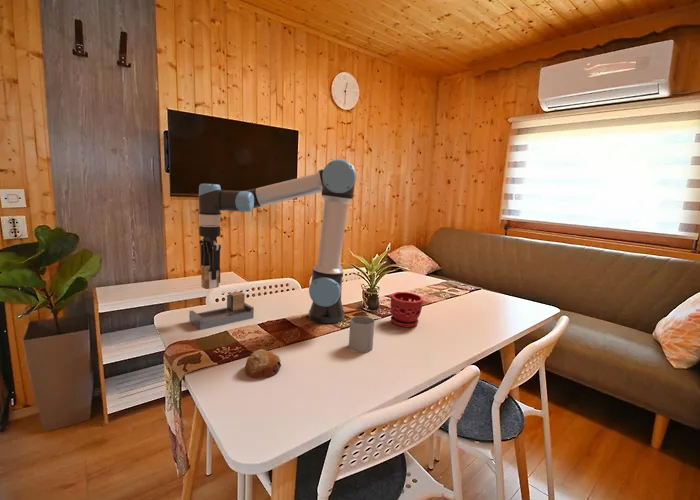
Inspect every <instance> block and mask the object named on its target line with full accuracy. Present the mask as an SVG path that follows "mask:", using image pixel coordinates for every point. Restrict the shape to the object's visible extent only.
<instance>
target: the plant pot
mask: <svg viewBox="0 0 700 500" xmlns="http://www.w3.org/2000/svg"><path fill="white" fill-rule="evenodd" d="M423 301H424V299H423V297H422V296H421V295H418V294H416V293H412V292H408V291H399V292H397V291H396V292H394V293H392V294H391V295H390V311H391V317H390V320H391V322H392V324H394V325H396V326H399V327H405V328H412V327H416V326H417V325H418V324H419V317H420V315H421V312H422V308H423Z"/></svg>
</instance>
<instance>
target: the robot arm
mask: <svg viewBox="0 0 700 500" xmlns="http://www.w3.org/2000/svg"><path fill="white" fill-rule="evenodd" d="M356 180H357V172H356V169H355V166H354V165H352V163H351V162H349V161H348V160H345V159H339V158H338V159H334V160H331V161H329V162H328V163H327V164H326V165H325V167H324V169H319V170H317V172H316V173H314V174H310V175H305V176H301V177H298V178H297V177H296V178H293V179H289V180H285V181H281V182H277V183H273V184H268V185H265V186H260V187H257V188H251V189H247V190H224V189H222V188H221V185H220V184H217V183H215V184H214V183H200V184H199V185H198V225H200V226H198V236H199V237H202V239H201V240H199V247H200V254H199V255H200V267H201V266H210V270H208V272H209V288H211V289H217V288H218V287H217V270H220V271H221V248H222V245H221V244H218V239H217V238H218V237H221V234H222V233H221V226H220V225H221V219H222V217H221V213H222V211H229V212H241V213H249V212H252V211H253V210H254V209H255V208H260V207H264V206H265V207H266V206H268V205H274V204H277V203H280V202H285V201H291V200H293V199H294V200H295V199H299V198H303V197H306V196H311V195H314V194H320V193H321V194H320V195H321V197H322V198H323V200H324V207H323V215H322V224H321V230H320V231H321V232H320V240H319V249H318V256H317V263H316V265H314V266H313V267H312V273H311V279H310V281H311V283H310V285H309V287H308V293H309V297H310V299H311V300H312V303H311V306H310V309H309V311H308V318H309V319H310V320H311V321H313V322H316V323H320V324H335V323H339V322H341V321H344V319H345V311H344V307H343V303H342V288H343V287H342V285H343V277H344V269H343V266H342V265H341V260H342V253H343V247H344V238H345V231H346V223H347V216H348V215H347V213H348V206H349V203H350V202H351V201H353V199H354V193H355V187H356V186H355V184H356V182H357V181H356ZM216 287H217V288H216Z"/></svg>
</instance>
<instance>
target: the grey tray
mask: <svg viewBox="0 0 700 500" xmlns="http://www.w3.org/2000/svg"><path fill="white" fill-rule="evenodd" d="M245 296H246V295H245V293H244V292H242V291H234V292H229V293H228V294H226V307H222V308H219V309H218V308H217V309H212V310H207V311H201V312H198V313H197V312H196V311H194V310H189V311H188V312H189V315H188V316H189V323H190V324H192V326H194V327H195V328H196V329H198V330H199V331H202V330H206V329H210V328H215V327H220V326H224V325H228V324H233V323H238V322H241V321H246V320H251V319H254V306H252V305H250V304H248V303H246V302H245V298H246V297H245Z"/></svg>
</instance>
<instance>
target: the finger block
mask: <svg viewBox="0 0 700 500" xmlns="http://www.w3.org/2000/svg"><path fill="white" fill-rule="evenodd" d="M208 270H210V266H201V265H200V273H201V288H203V289H205V290H210V289H212V288H209V272H208ZM220 284H221V269H220V270H217V287H216V288H215V289H217V288H219V287H220V286H219V285H220Z"/></svg>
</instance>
